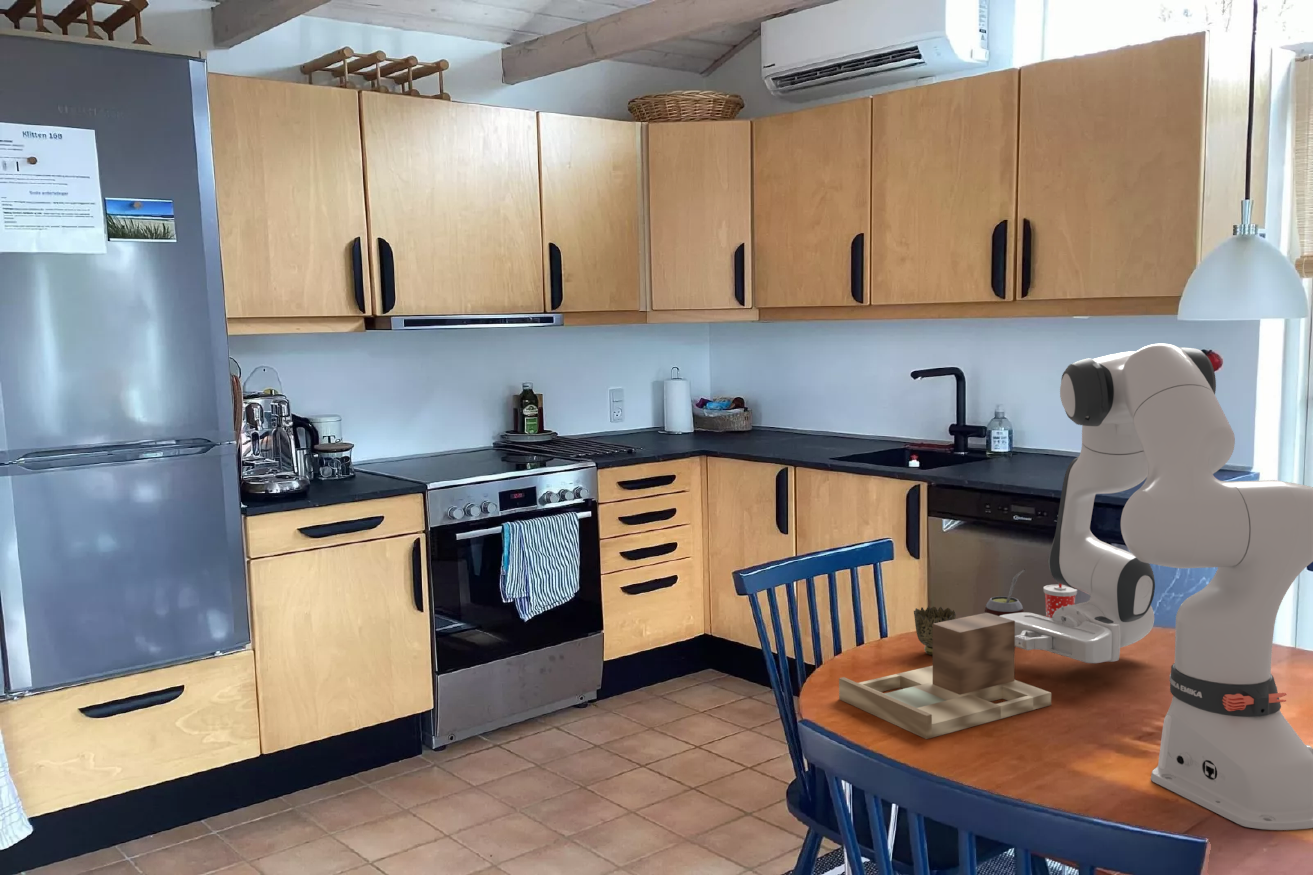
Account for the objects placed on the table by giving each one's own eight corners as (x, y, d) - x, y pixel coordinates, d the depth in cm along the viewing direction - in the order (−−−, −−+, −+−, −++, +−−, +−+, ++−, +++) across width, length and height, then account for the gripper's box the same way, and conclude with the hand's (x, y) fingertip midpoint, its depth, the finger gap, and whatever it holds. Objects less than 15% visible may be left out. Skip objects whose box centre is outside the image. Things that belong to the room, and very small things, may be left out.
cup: (912, 647, 199) (912, 605, 198) (952, 648, 198) (952, 605, 197) (916, 659, 191) (916, 616, 190) (958, 660, 190) (958, 616, 189)
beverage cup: (1072, 640, 200) (1073, 567, 199) (1039, 636, 204) (1040, 564, 202) (1079, 632, 205) (1080, 561, 204) (1046, 628, 209) (1047, 558, 207)
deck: (957, 671, 184) (957, 651, 184) (1051, 705, 167) (1051, 683, 167) (839, 699, 172) (839, 678, 172) (926, 739, 154) (926, 715, 154)
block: (986, 671, 178) (986, 612, 177) (1014, 681, 173) (1014, 620, 172) (932, 684, 172) (932, 623, 171) (959, 694, 167) (959, 632, 166)
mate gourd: (988, 634, 206) (989, 557, 204) (1031, 638, 202) (1032, 561, 201) (980, 644, 199) (981, 565, 198) (1024, 649, 196) (1025, 569, 194)
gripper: (1029, 600, 192) (973, 611, 185) (1127, 625, 174) (1069, 639, 167) (1029, 634, 193) (973, 646, 186) (1127, 663, 175) (1069, 678, 168)
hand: (1019, 643), depth 177 cm, fingers closed
